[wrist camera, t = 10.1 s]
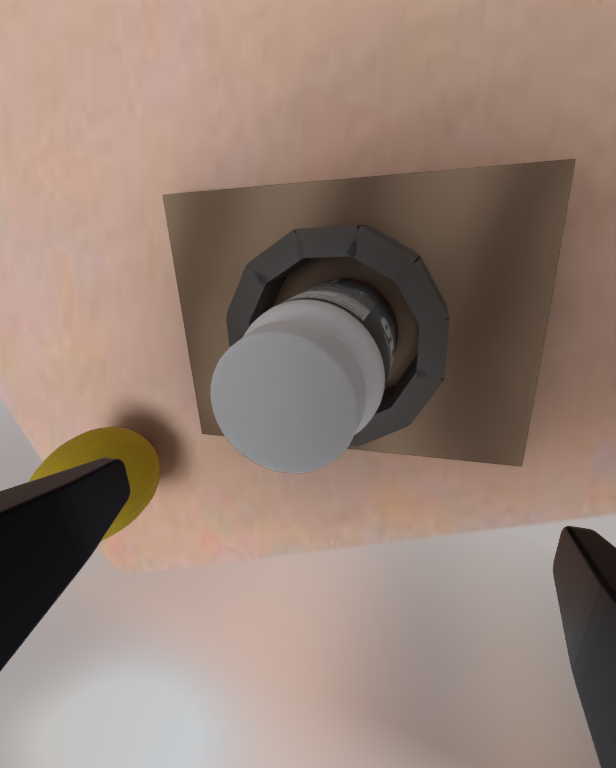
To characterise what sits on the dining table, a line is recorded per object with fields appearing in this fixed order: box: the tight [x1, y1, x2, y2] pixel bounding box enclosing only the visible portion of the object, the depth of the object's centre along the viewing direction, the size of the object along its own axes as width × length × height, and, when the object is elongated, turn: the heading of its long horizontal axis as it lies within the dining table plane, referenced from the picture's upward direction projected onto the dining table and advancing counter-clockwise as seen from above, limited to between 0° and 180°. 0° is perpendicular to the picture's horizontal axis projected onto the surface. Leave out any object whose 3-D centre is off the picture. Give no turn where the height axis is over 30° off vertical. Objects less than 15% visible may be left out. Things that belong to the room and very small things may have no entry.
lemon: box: [30, 427, 160, 541], centre depth 22 cm, size 6×6×8 cm
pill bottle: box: [211, 278, 398, 473], centre depth 14 cm, size 5×5×8 cm
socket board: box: [163, 159, 576, 467], centre depth 17 cm, size 16×12×4 cm
